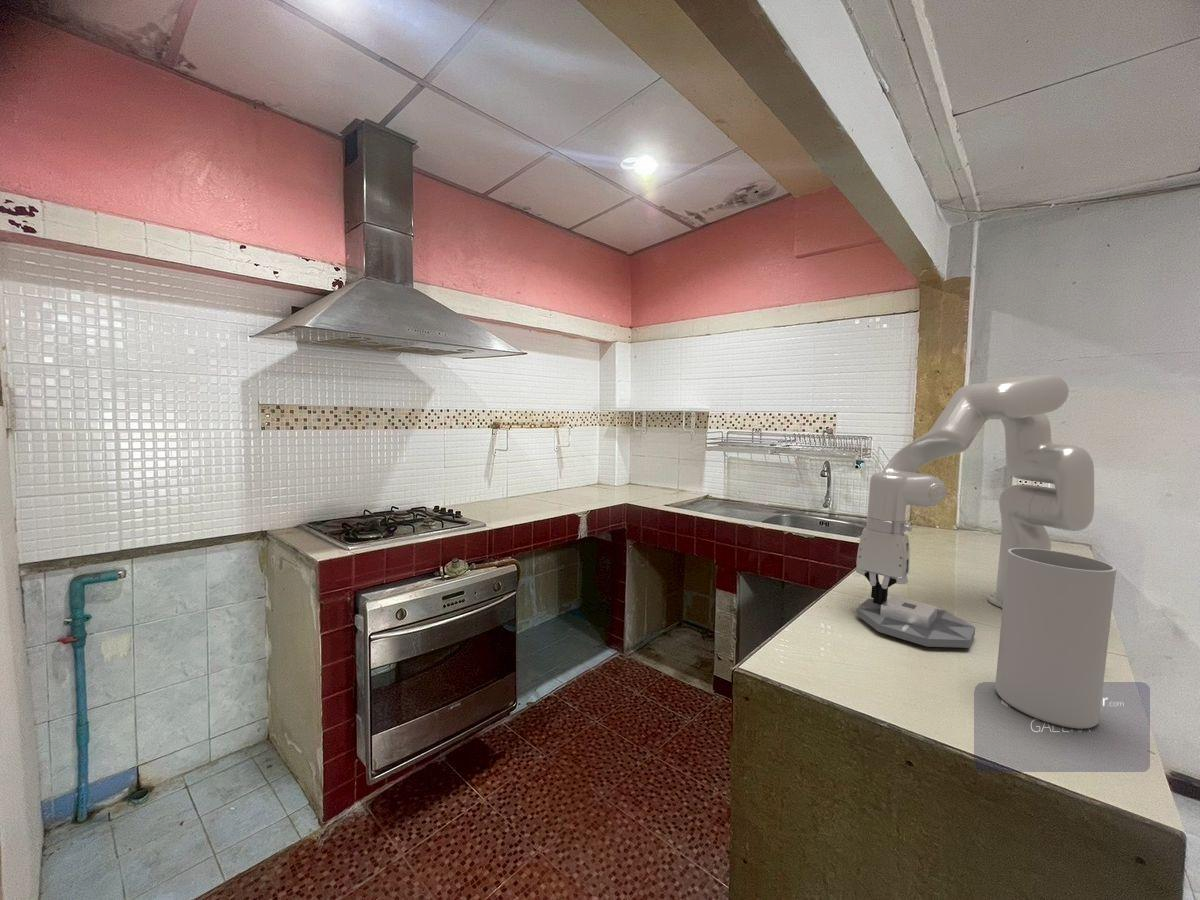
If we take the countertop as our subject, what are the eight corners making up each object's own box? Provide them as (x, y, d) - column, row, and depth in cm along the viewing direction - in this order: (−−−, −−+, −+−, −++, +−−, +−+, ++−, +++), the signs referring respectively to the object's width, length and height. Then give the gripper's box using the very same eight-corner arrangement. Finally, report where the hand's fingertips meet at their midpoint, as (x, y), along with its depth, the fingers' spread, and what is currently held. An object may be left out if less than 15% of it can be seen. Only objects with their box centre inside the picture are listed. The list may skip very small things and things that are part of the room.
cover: (936, 617, 106) (937, 606, 106) (927, 629, 100) (928, 617, 100) (891, 605, 112) (892, 594, 112) (880, 615, 106) (881, 604, 106)
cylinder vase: (977, 681, 84) (989, 546, 83) (1052, 687, 83) (1066, 550, 81) (1033, 727, 72) (1049, 568, 70) (1123, 735, 71) (1142, 574, 69)
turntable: (978, 626, 106) (979, 619, 106) (964, 658, 91) (965, 650, 91) (874, 598, 121) (875, 592, 120) (847, 622, 106) (848, 615, 106)
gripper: (927, 530, 106) (919, 608, 108) (855, 518, 117) (849, 589, 118) (919, 535, 101) (912, 617, 102) (845, 522, 112) (839, 597, 113)
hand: (878, 602), depth 110 cm, fingers closed
